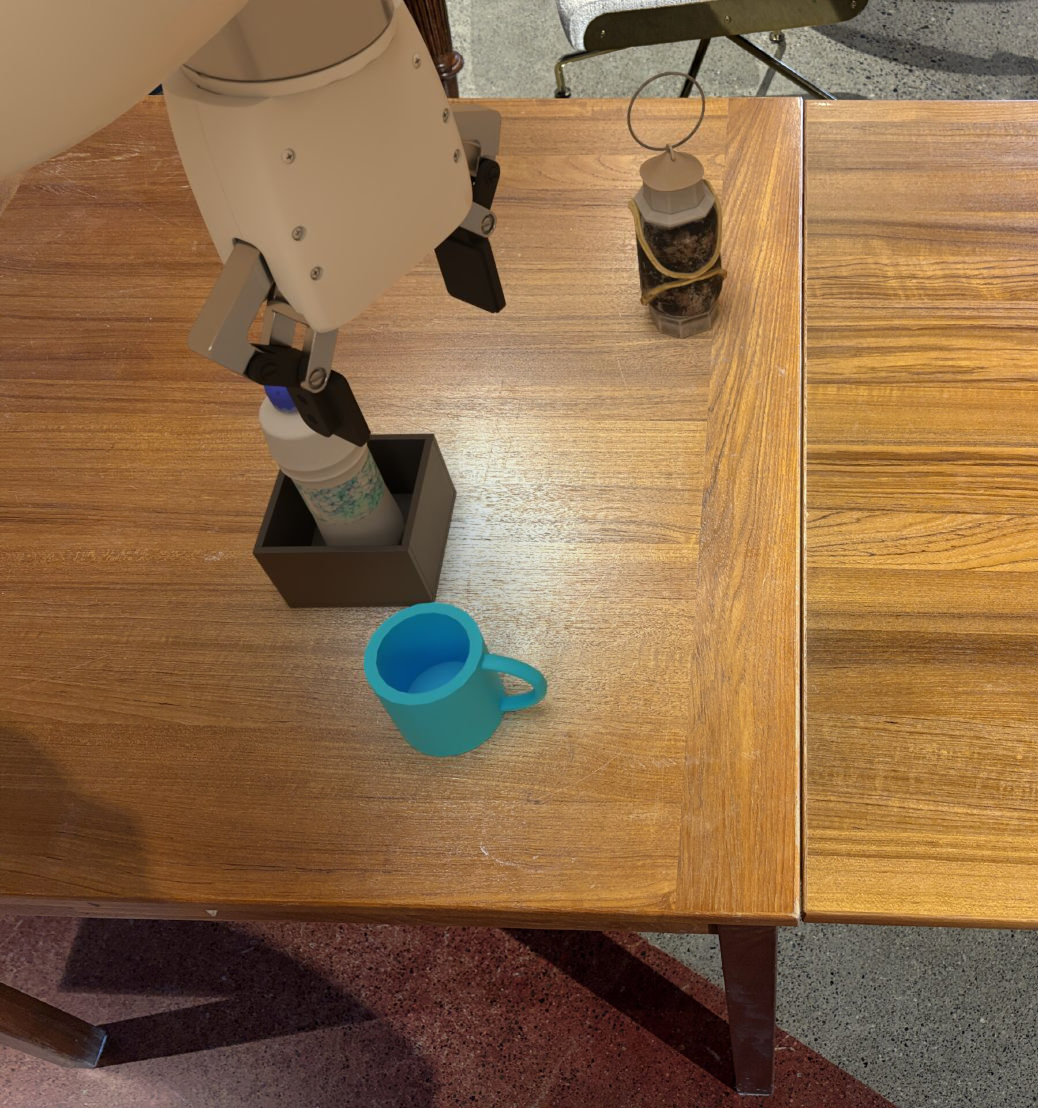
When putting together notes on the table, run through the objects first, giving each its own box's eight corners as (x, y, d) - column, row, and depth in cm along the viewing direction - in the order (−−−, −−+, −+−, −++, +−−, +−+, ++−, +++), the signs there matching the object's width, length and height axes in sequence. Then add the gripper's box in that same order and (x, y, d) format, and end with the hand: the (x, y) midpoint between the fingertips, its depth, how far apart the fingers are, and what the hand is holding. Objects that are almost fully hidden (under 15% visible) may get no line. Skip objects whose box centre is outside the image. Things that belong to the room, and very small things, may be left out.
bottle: (375, 500, 91) (288, 324, 75) (430, 537, 89) (354, 363, 72) (315, 553, 88) (210, 381, 72) (370, 592, 86) (276, 424, 69)
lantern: (709, 277, 107) (695, 35, 87) (741, 328, 103) (734, 86, 83) (628, 302, 106) (594, 61, 85) (657, 354, 101) (629, 114, 81)
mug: (385, 754, 78) (349, 703, 71) (411, 657, 83) (379, 600, 76) (547, 761, 77) (526, 709, 71) (564, 662, 82) (546, 605, 75)
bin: (433, 606, 85) (407, 551, 79) (289, 607, 86) (251, 553, 79) (456, 492, 92) (434, 433, 86) (322, 493, 92) (290, 435, 86)
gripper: (363, -129, 41) (466, 234, 55) (-17, 95, 33) (218, 458, 47) (518, -88, 39) (585, 281, 53) (152, 164, 30) (347, 524, 44)
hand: (413, 363), depth 50 cm, fingers open, 9 cm apart
